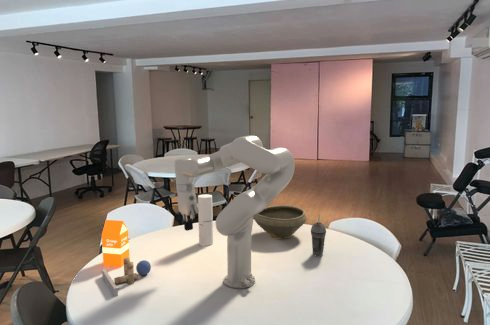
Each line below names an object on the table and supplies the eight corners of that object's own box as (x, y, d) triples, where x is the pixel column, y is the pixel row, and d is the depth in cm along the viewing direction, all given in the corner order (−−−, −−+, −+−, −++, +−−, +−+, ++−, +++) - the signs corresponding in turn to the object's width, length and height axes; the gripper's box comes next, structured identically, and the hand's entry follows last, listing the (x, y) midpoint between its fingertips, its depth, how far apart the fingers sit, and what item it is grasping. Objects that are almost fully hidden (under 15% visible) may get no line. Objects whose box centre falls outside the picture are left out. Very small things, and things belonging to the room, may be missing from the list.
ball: (134, 271, 159) (148, 276, 160) (139, 257, 162) (153, 262, 163) (133, 273, 165) (147, 277, 166) (138, 259, 167) (152, 263, 168)
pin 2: (135, 283, 156) (134, 263, 155) (128, 285, 155) (127, 264, 153) (133, 281, 158) (132, 261, 157) (127, 282, 157) (126, 262, 155)
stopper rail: (117, 295, 146) (117, 288, 146) (114, 296, 146) (114, 288, 145) (105, 275, 163) (105, 268, 163) (102, 276, 162) (102, 269, 162)
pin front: (136, 273, 159) (115, 278, 154) (137, 279, 159) (116, 285, 154) (135, 272, 161) (114, 277, 156) (135, 278, 161) (114, 283, 156)
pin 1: (131, 278, 160) (130, 259, 159) (125, 280, 159) (124, 260, 158) (129, 276, 162) (128, 257, 161) (123, 277, 161) (122, 258, 160)
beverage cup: (324, 251, 188) (325, 211, 185) (326, 257, 181) (327, 216, 178) (309, 251, 189) (310, 211, 186) (310, 257, 181) (311, 215, 178)
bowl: (313, 233, 215) (314, 208, 213) (292, 249, 192) (293, 222, 190) (269, 224, 230) (269, 201, 228) (244, 237, 207) (244, 212, 205)
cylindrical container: (212, 246, 196) (211, 197, 192) (198, 245, 196) (197, 197, 193) (213, 241, 203) (212, 194, 199) (200, 241, 203) (199, 194, 200)
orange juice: (121, 267, 172) (118, 223, 168) (103, 265, 173) (100, 222, 170) (130, 260, 179) (127, 218, 176) (112, 258, 181) (110, 217, 178)
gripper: (201, 188, 159) (204, 231, 162) (185, 184, 172) (189, 224, 174) (185, 191, 155) (188, 235, 158) (170, 186, 168) (173, 227, 170)
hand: (188, 229), depth 166 cm, fingers closed
